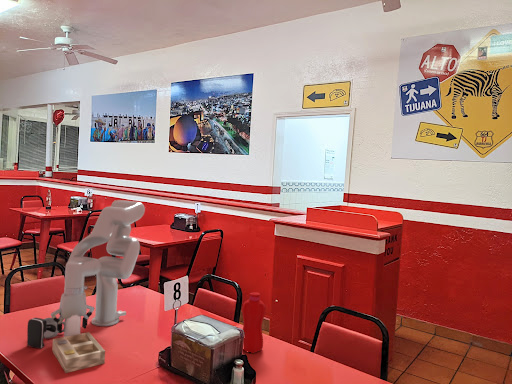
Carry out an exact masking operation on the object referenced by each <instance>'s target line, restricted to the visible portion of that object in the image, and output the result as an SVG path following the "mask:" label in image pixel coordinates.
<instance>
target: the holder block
mask: <svg viewBox="0 0 512 384" xmlns="http://www.w3.org/2000/svg"><path fill="white" fill-rule="evenodd" d="M51 351H52V353H53V355H54V357H55V358H56V359H57V362H58V364H60V366H61V368H62V369H63V371H64V373H65V374H68V373H71V372H75V371H79V370H84V369H88V368H91V367H96V366H99V365H104V364H106V349H104V348H103V347H102V345H101V344H100V343H99V342H98V341H97V339H95V337H94V336H93V335H92V334H91V333H90V332H89V331H88V332H84V333H83V332H81V333H80V334H77V335H72V336H67V337H64V336H63V337H57V338H52V349H51Z"/></svg>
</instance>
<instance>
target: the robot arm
mask: <svg viewBox="0 0 512 384" xmlns="http://www.w3.org/2000/svg"><path fill="white" fill-rule="evenodd" d="M145 212H146V208H145V205H144V204H143V203H142V202H141V201H135V200H134V201H133V200H124V199H122V200H121V199H118V200H114V201H113V202H112V203H111V205H110V206H106V207H104V208H103V209H102V210H101V212H100V213H99V216H98V218H97V220H96V222H95V224H94V227H93V229H92V231H91V233H90V234H89V235H87V236H86V237H84V238H83V239H81V240H80V241H79V242H78V243H76V245H75V246H74V247H73V249H72V251H71V253H70V256H69V257H68V260H67V262H66V264H65V272H64V292H63V293H61V297H60V300H59V302H60V303H59V308H58V309H56V310H54V311H53V312H51V313H50V316H51V318H53V320H54V321H55V322H57V331H59V333H58V334H62V333H63V332H62V330H63V324H62V321H65V319H68V318H70V317H71V316H72V315H78V316H81V317H82V319H81V322H82V323H81V326H82V327H81V328H83V329H87V327H88V320H89V318H90V317H91V316H92V314H93V312H94V311H95V314H94V317H93V318H91V321H90V322H91V324H92V325H94V326H97V327H109V326H113V325H116V324H118V323H119V322H120V317H123V316H127V311H125V310H124V311H122V310H118V311H117V307H118V306H117V305H118V291H119V290H118V289H119V286H118V282H117V281H118V280H127V279H129V278H130V277H131V275H132V273H133V271H134V269H135V265H136V262H137V259H138V257H139V254H140V251H141V250H140V247H141V245H140V242H139V240H138V239H137V238H135V237H130V235H131V231H132V226H131V225H132V224H133V223H135V222H137V221H139V220H140V219H142V217H143V216H144V215H145ZM106 243H107V244H106ZM103 244H106V248H105V249H106V252H107V253H108V255H109V254H110V255H111V256H106V255H105V256H101V257H100V258H93V257H89V256H85V254H86V253H87V251H89V250H91V249H92V248H94V247H97V246H101V245H103ZM112 255H113V256H112ZM115 256H117V257H115ZM121 257H123V258H121ZM93 276H96V290H95V291H96V294H95V295H96V296H95V307H94V306H92V305H89V304H87V296H86V292H85V291H86V290H87V289H88V286H87V285H85V277H93ZM117 279H118V280H117ZM87 309H89V311H88V310H87ZM87 311H88V312H87ZM56 315H59V317H57V316H56Z"/></svg>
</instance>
